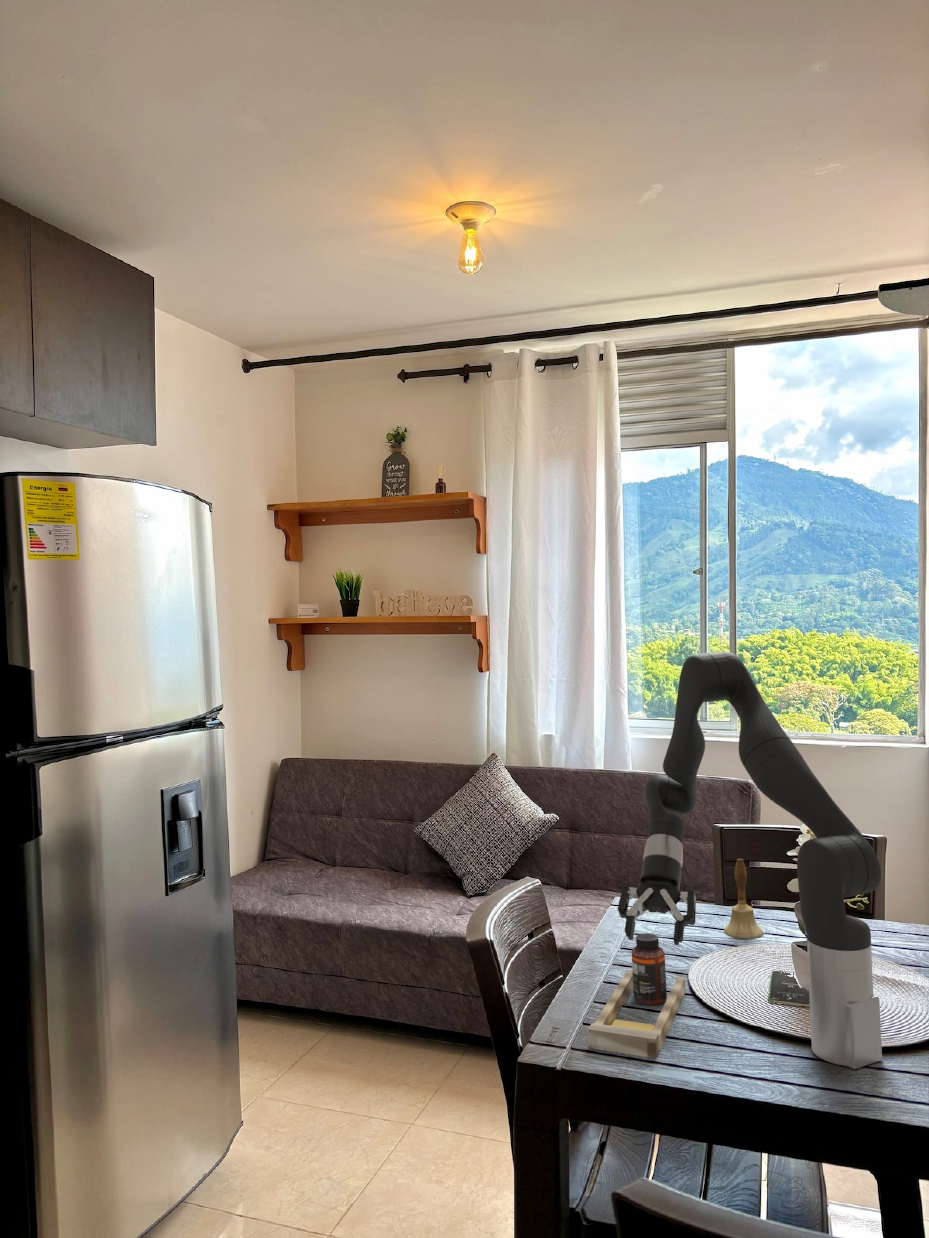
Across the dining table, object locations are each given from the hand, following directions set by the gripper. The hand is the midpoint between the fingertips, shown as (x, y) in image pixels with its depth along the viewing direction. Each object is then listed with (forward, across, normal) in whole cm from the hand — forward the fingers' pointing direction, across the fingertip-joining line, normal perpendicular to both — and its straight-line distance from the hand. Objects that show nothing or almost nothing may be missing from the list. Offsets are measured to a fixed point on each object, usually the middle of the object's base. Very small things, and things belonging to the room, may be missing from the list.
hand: (652, 940), depth 162 cm
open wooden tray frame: (+15, 0, -2) cm, 15 cm away
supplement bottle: (+10, 0, +4) cm, 10 cm away
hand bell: (-20, +12, +34) cm, 41 cm away
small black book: (+1, +23, +13) cm, 27 cm away
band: (+19, 0, -6) cm, 20 cm away
